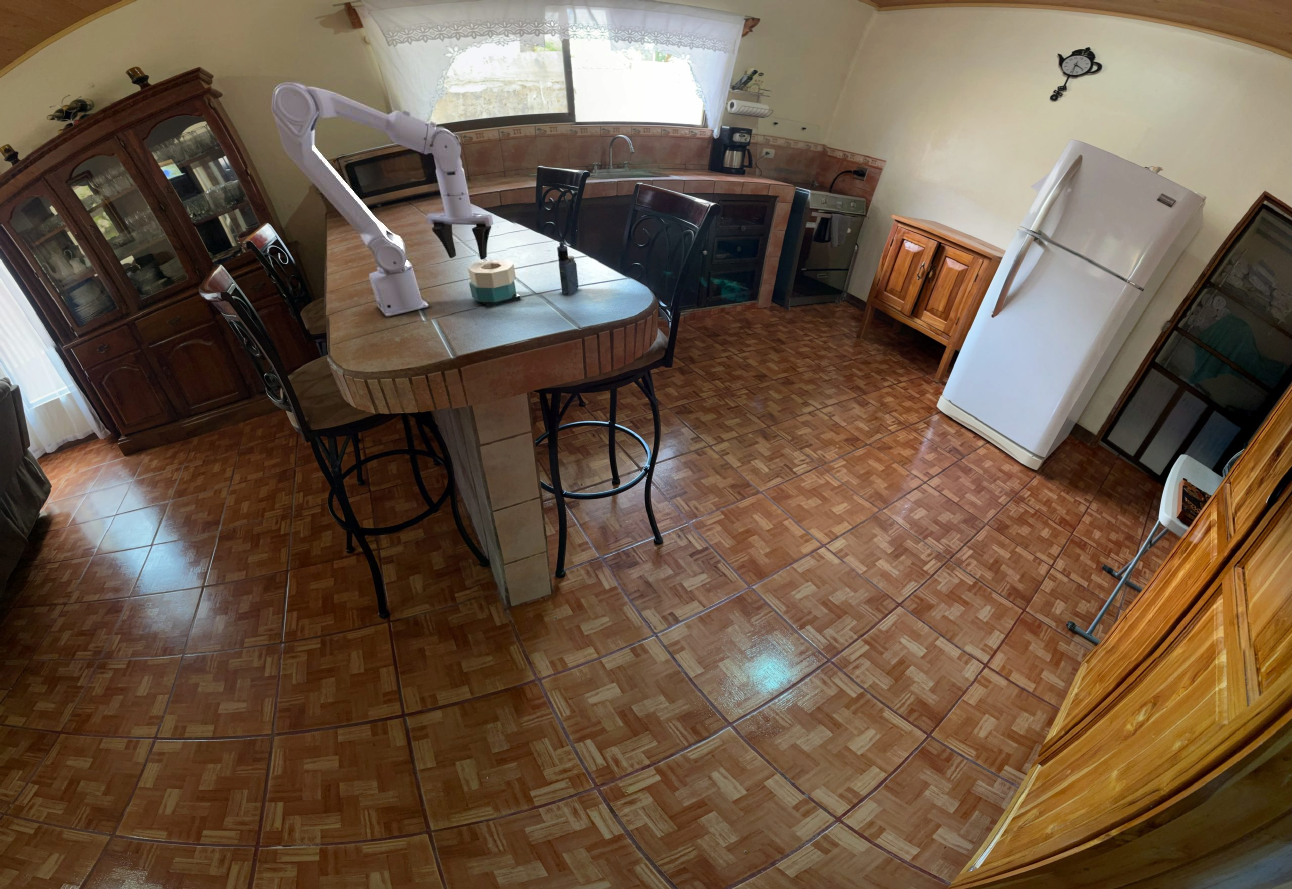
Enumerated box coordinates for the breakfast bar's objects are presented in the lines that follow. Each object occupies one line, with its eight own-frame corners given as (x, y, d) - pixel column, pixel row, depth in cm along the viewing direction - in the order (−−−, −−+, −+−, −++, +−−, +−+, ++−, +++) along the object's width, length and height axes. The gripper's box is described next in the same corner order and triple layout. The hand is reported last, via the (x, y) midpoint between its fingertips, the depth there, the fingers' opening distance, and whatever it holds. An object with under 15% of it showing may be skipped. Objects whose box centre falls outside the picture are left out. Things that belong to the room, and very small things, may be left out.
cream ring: (482, 290, 114) (479, 275, 112) (466, 279, 120) (463, 265, 118) (521, 281, 119) (518, 267, 117) (504, 271, 125) (501, 257, 123)
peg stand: (489, 307, 117) (484, 282, 114) (476, 298, 123) (470, 273, 119) (520, 299, 121) (516, 274, 118) (506, 290, 126) (502, 266, 123)
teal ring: (483, 305, 116) (479, 290, 114) (467, 293, 122) (464, 279, 120) (521, 295, 121) (519, 281, 119) (504, 285, 127) (502, 271, 125)
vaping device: (559, 294, 124) (553, 243, 117) (572, 287, 127) (566, 238, 120) (568, 296, 123) (563, 245, 116) (580, 289, 126) (575, 239, 119)
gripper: (493, 190, 112) (504, 253, 120) (432, 189, 114) (447, 251, 122) (480, 196, 107) (492, 262, 115) (416, 195, 108) (432, 260, 116)
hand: (468, 257), depth 118 cm, fingers open, 7 cm apart
